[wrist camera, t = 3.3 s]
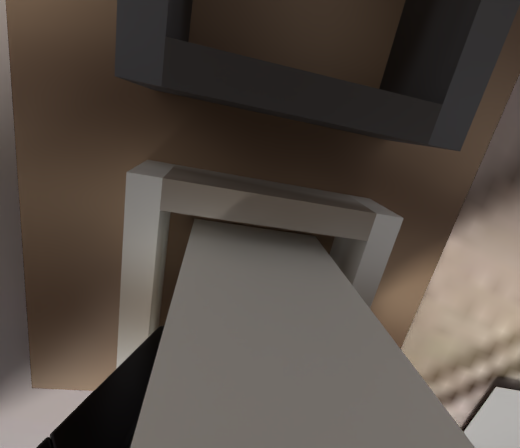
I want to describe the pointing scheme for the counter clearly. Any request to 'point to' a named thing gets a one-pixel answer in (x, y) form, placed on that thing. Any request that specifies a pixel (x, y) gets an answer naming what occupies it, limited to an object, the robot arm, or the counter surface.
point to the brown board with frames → (239, 148)
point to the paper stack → (497, 421)
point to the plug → (280, 355)
